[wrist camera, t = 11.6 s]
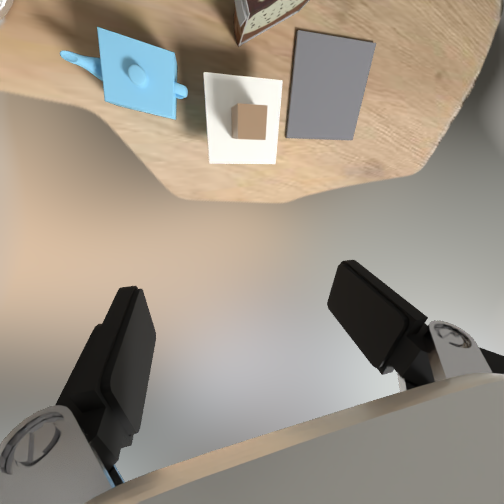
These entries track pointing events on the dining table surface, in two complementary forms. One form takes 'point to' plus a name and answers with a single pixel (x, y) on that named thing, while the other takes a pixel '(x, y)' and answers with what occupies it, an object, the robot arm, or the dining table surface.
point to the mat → (327, 86)
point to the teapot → (134, 74)
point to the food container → (261, 16)
